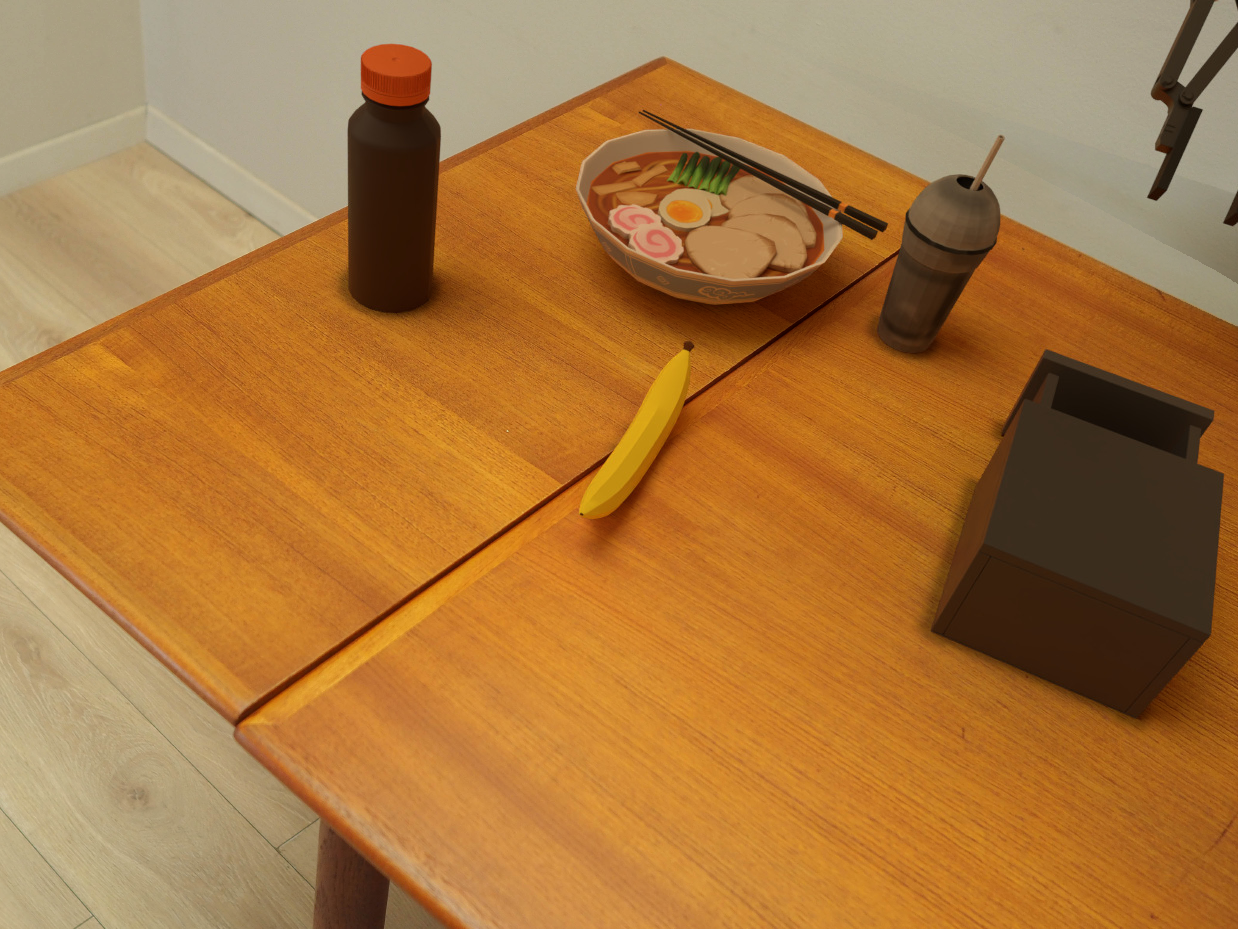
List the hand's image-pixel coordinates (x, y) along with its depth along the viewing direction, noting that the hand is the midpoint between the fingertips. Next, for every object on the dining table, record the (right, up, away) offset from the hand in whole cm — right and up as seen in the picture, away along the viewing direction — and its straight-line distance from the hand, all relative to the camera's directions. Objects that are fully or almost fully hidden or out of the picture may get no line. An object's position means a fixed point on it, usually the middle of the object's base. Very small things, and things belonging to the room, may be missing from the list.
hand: (1195, 206), depth 88 cm
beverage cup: (-19, -9, +11) cm, 24 cm away
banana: (-44, -21, -4) cm, 48 cm away
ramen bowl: (-37, -2, +15) cm, 39 cm away
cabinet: (-14, -29, -7) cm, 34 cm away
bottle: (-62, -5, +7) cm, 63 cm away
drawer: (-10, -22, -1) cm, 24 cm away
